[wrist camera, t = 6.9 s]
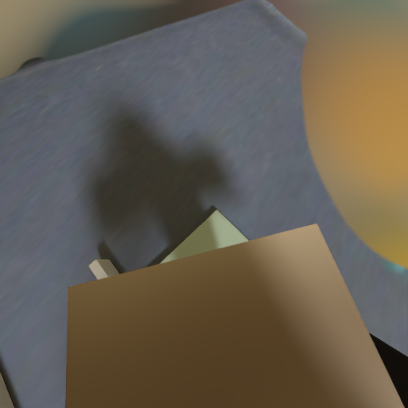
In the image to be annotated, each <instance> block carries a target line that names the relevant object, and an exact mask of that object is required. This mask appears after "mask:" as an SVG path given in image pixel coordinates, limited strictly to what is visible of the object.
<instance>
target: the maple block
mask: <svg viewBox="0 0 408 408" xmlns="http://www.w3.org/2000/svg"><path fill="white" fill-rule="evenodd" d="M65 408H404V406H403V404H402V401H401V399H400V397H399V395H398V393H397V391H396V389H395V387H394V385H393V383H392V381H391V378H390V376H389V374H388V372H387V370H386V368H385V366H384V364H383V362H382V360H381V357H380V355H379V353H378V351H377V349H376V347H375V345H374V343H373V341H372V339H371V336H370V334H369V332H368V330H367V328H366V326H365V324H364V322H363V320H362V318H361V316H360V313H359V311H358V309H357V307H356V305H355V303H354V301H353V299H352V297H351V295H350V292H349V290H348V288H347V286H346V284H345V282H344V280H343V278H342V276H341V274H340V271H339V269H338V267H337V265H336V263H335V261H334V259H333V257H332V255H331V253H330V251H329V248H328V246H327V244H326V242H325V240H324V238H323V236H322V234H321V232H320V230H319V227H318V225H317V224H313V225H309V226H305V227H301V228H297V229H293V230H290V231H286V232H282V233H278V234H274V235H270V236H266V237H262V238H258V239H254V240H251V241H247V242H243V243H239V244H235V245H231V246H227V247H223V248H219V249H215V250H212V251H208V252H204V253H200V254H196V255H192V256H188V257H184V258H180V259H176V260H173V261H169V262H165V263H161V264H157V265H153V266H149V267H145V268H141V269H138V270H134V271H130V272H126V273H122V274H118V275H114V276H110V277H106V278H102V279H99V280H95V281H91V282H87V283H83V284H79V285H75V286H71V287H68V322H67V363H66V405H65Z"/></svg>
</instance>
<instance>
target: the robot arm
mask: <svg viewBox="0 0 408 408" xmlns="http://www.w3.org/2000/svg"><path fill="white" fill-rule="evenodd" d="M369 334H370V333H369ZM370 336H371V339H372V341H373V343H374V345H375V347H376V349H377V351H378V353H379V355H380V357H381V360H382V362H383V364H384V366H385V368H386V370H387V372H388V374H389V376H390V378H391V381H392V383H393V385H394V387H395V389H396V391H397V393H398V395H399V397H400V399H401V401H402V404H403V406H404V408H408V357H407V356H406V355H404V354H402V353H401V352H399V351H397V350H396V349H394V348H393V347H391V346H389V345H388V344H386V343H385V342H383V341H381V340H380V339H378V338H377V337H375V336H373V335H372V334H370Z"/></svg>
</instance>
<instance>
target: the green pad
mask: <svg viewBox="0 0 408 408" xmlns="http://www.w3.org/2000/svg"><path fill="white" fill-rule="evenodd" d="M247 241H249V240H248V239H247V238H246V237H245V236H244V235H243V234H242V233H240V232H239V231H238V230H237V229H236V228H235V227H234V226H233V225H232V224H231V223H230V222H229V221H228V220H227V219H226V218H225V217H224V216H223V215H222V214H221V213H220V212H219V211H218V210H216V211H215V212H214V213H213V214H212V215H211V216H210V217H208V218H207V219H206V220H205V221H204V222H203V223H202V224H201V225H200V226H199V227H198V228H197V229H196V230H195V231H194V232H193V233H192V234H190V235H189V236H188V237H187V238H186V239H185V240H184V241H183V242H182V243H181V244H180V245H179V246H178V247H177V248H176V249H175V250H174V251H172V252H171V253H170V254H169V255H168V256H167V257H166V258H165V259H164V260H163V261H162V262H161V263H165V262H169V261H173V260H176V259H180V258H184V257H188V256H192V255H196V254H200V253H204V252H208V251H212V250H215V249H219V248H223V247H227V246H231V245H235V244H239V243H243V242H247ZM161 263H160V264H161Z"/></svg>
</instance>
